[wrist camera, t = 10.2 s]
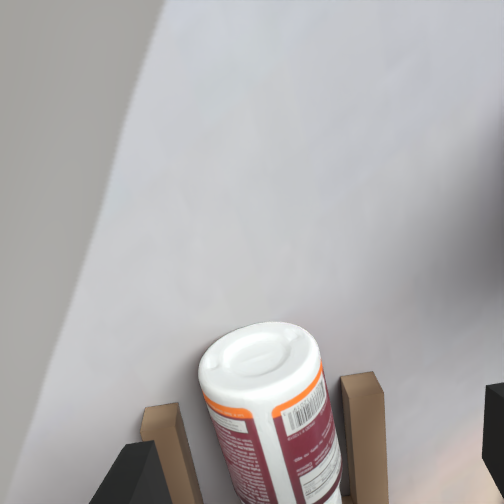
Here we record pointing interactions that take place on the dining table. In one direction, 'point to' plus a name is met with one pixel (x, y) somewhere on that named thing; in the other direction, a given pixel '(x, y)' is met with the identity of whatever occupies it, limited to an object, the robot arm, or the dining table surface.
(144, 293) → the dining table surface
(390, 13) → the dining table surface
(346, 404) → the socket block
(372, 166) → the dining table surface
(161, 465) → the robot arm
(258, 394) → the pill bottle
